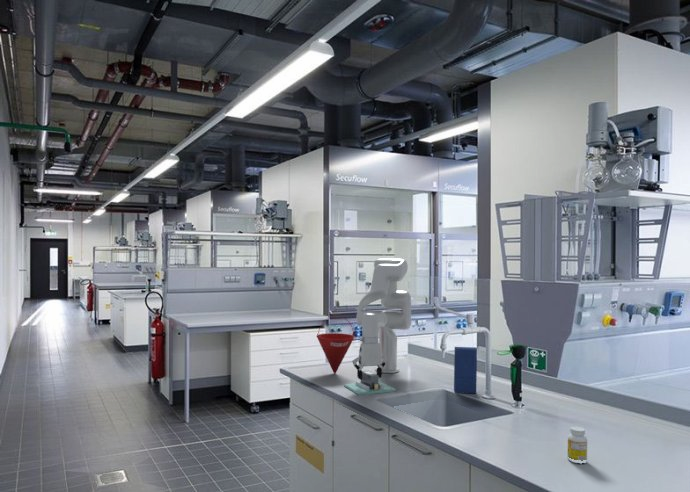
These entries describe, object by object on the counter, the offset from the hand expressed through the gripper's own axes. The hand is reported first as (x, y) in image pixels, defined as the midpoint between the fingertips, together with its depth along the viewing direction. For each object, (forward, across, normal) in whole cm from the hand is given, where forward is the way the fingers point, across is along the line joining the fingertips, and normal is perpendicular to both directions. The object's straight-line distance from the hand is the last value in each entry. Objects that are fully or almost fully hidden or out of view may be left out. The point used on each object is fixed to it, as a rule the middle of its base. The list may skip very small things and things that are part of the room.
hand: (369, 378), depth 231 cm
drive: (+4, 0, 0) cm, 4 cm away
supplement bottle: (+5, +21, -96) cm, 98 cm away
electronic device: (+5, +38, -20) cm, 43 cm away
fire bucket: (+5, -3, +33) cm, 34 cm away
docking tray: (+5, 0, 0) cm, 5 cm away
